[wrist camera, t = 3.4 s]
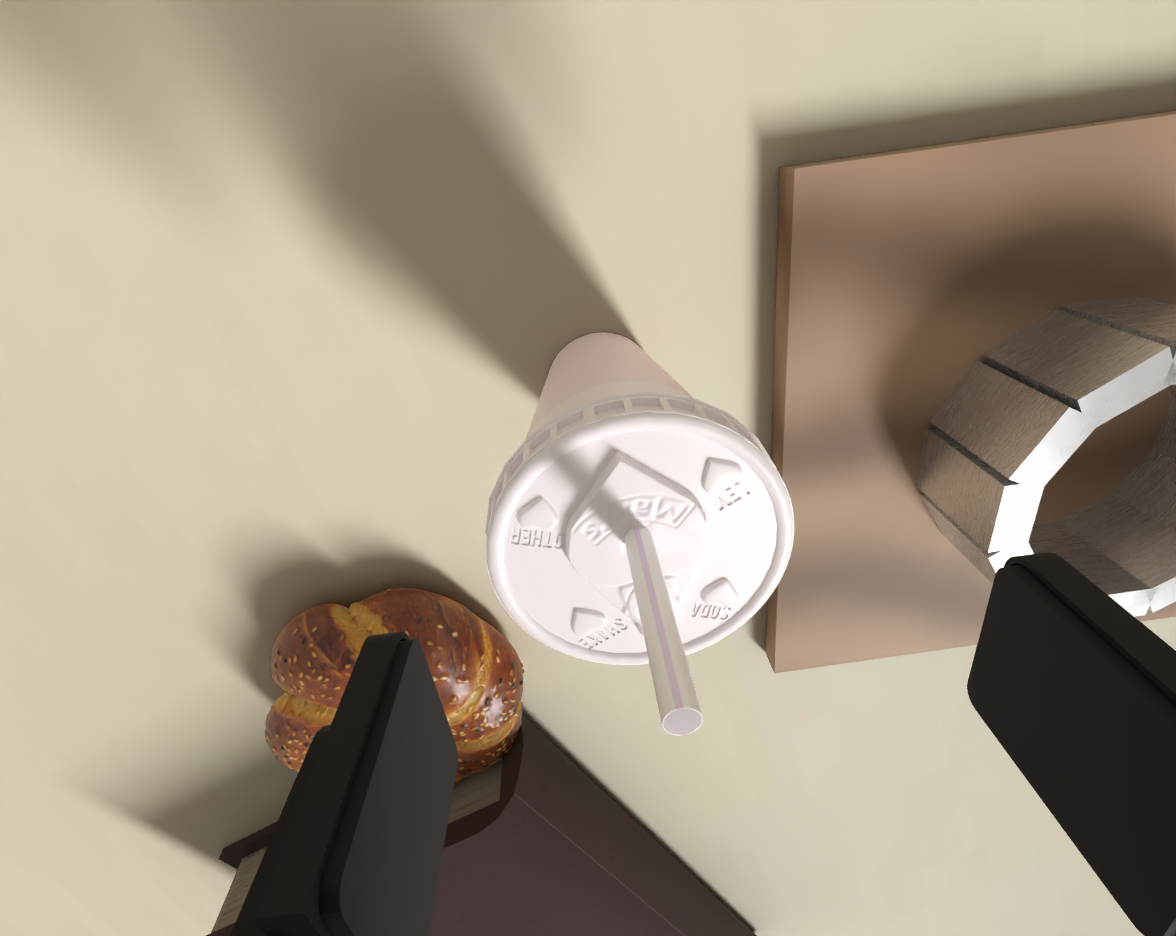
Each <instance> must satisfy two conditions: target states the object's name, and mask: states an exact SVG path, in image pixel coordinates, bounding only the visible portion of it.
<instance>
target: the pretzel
mask: <svg viewBox="0 0 1176 936" xmlns="http://www.w3.org/2000/svg"><path fill="white" fill-rule="evenodd" d="M394 632H405V633H406V634H407V635H408V637H409V639H410V640H411V639H418V640H419V642H420V644H421V646H422V649H423V652H424V655H425V658H426V661H427V663H428V666H429V669H430V672H431V675H432V678H433V680H434V683H435V686H436V689H437V692H438V695H439V697H440V700H441V703H442V706H443V709H444V712H445V714H446V717H447V720H448V723H449V726H450V729H451V731H452V734H453V737H454V740H455V743H456V747H457V756H458V761H457V771H456V777H455V783H454V787H455V786H456V785H457V784H458V783H461V782H462V781H463V779H464V778H465V777H466V776H470V775H472V774H477V773H479V772H481V771H484V770H486V769H487V768H489V767H491V766H492V765H494V764H495V763H496V762H499V761H500V760H502V756H503V755H504V754H505V753H506V752H507V751H508V750H509V749H510V748H511V747H512V744H513V742H514V740H515V739H516V737H517V734H518V731H519V728H520V727H521V725H522V722H521V718H522V712H523V709H522V708H523V704H522V702H521V697H522V692H523V673H524V670H523V669H522V667H523V665H522V663H521V661H520V659H519V657H518V655H517V653H516V651H515V649H514V648H513V647H512V645H511V644H510V643H509V641H508V640H507V639H506V638H505V637H504V636H503V635H502V634H501V633H500V632H499V631H498V630H496V629H495V628H494V627H493V626H491V625H490V624H489V623H487V622H486V621H484V620H482V619H481V618H479V617H478V616H476V615H475V614H474V613H473V612H472V611H471V610H469V609H468V608H467V607H466V606H464V605H462V604H461V603H459V602H456V601H454V600H452V599H450V598H448V597H445V596H443V595H440V594H437V593H433V592H430V591H425V590H421V589H415V588H397V589H388V590H385V591H382V592H379V593H377V594H374V595H372V596H370V597H367V598H365V599H363V600H361V601H359V602H354V603H352V604H351V606H350V607H349V608H347V607H345V606H342V605H339V604H333V603H329V604H322V605H317V606H314V607H312V608H310V609H308V610H305V611H303V612H302V613H299V614H298V615H297V616H295V617H294V618H293V619H292V620H291V621H289V622H288V623H287V624H286V625H285V627H284V628H283V629H282V630H281V631H280V633H279V634H278V636H277V638H276V640H275V642H274V644H273V647H272V651H271V674H272V678H273V681H274V682H275V683H276V684H277V685H278V686H280V687H281V688H282V689H283V690H284V691H285V693H284V694H283V695H282V696H280V697H279V698H278V699H277V700H276V702H275V703H274V704H273V705H272V706H271V711H270V712H269V713H268V715H267V718H266V719H267V720H266V730H265V737H266V741H267V744H268V745H269V747H270V749H271V750H272V752H273V753H274V754H275V755H276V758H277V759H278V760H280V761H282V762H283V764H284V765H285V766H286V767H288V768H290V769H294V770H296V771H297V772H298V773H299V770H300V768H301V766H302V763H303V761H304V758H305V756H306V754H307V751H308V749H309V746H310V744H311V742H312V740H313V738H314V736H315V735H316V733H317V732H318V731H319V730H320V729H321V728H322V727H323V726H326V725H331V723H332V721H333V718H334V716H335V713H336V711H337V708H338V706H339V703H340V701H341V698H342V696H343V693H344V691H345V688H346V686H347V683H348V681H349V678H350V676H351V673H352V671H353V668H354V666H355V663H356V661H357V658H358V656H359V653H360V651H361V648H362V645H363V643H364V641H365V639H366V638H367V637H368V636H369V635H377V634H386V633H394Z"/></svg>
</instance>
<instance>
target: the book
mask: <svg viewBox="0 0 1176 936" xmlns="http://www.w3.org/2000/svg"><path fill="white" fill-rule="evenodd" d="M521 722H522V725H521V727H520V728H519V731H518V734H517V737H516V739H515V740H514V742H513V744H512V747H511V748H510V749H509V750H508V751H507V752H506V753H505V754H504V755H503V756H502V760H500V761H499V762H496V763H495V764H494V765H492V766H491V767H489V768H487V769H486V770H484V771H481V772H479V773H477V774H472V775H470V776H466V777H465V778H464V779H463V781H462V782H461V783H458V784H457V785H456V786H455V787H454V789H453V795H452V801H451V806H450V812H449V818H448V824H447V830H446V836H445V842H444V848H443V854H442V860H441V866H440V872H439V878H438V884H437V889H436V895H435V901H434V907H433V913H432V919H431V925H430V931H429V936H757V935H755V934H754V933H753V932H752V931H751V930H750V929H749V928H748V927H747V926H746V925H745V924H744V923H743V922H742V921H741V920H740V919H738V918H737V917H736V916H735V915H734V914H733V913H732V912H731V911H730V910H729V909H728V908H727V907H726V906H725V905H724V904H723V903H722V902H720V901H719V900H718V899H717V898H716V897H715V896H714V895H713V894H712V893H711V892H710V891H709V890H708V889H707V888H706V887H705V886H704V885H702V884H701V883H700V882H699V881H698V880H697V879H696V878H695V877H694V876H693V875H692V874H691V873H690V872H689V871H688V870H687V869H686V868H684V867H683V866H682V865H681V864H680V863H679V862H678V861H677V860H676V859H675V858H674V857H673V856H672V855H671V854H670V853H669V852H667V851H666V850H665V849H664V848H663V847H662V846H661V845H660V844H659V843H658V842H657V841H656V840H655V839H654V838H653V837H652V836H651V835H649V834H648V833H647V832H646V831H645V830H644V829H643V828H642V827H641V826H640V825H639V824H638V823H637V822H636V821H635V820H634V819H633V818H631V817H630V816H629V815H628V814H627V813H626V812H625V811H624V810H623V809H622V808H621V807H620V806H619V805H618V804H617V803H616V802H615V801H613V800H612V799H611V798H610V797H609V796H608V795H607V794H606V793H605V792H604V791H603V790H602V789H601V788H600V787H599V786H598V785H597V784H595V783H594V782H593V781H592V780H591V779H590V778H589V777H588V776H587V775H586V774H585V773H584V772H583V771H582V770H581V769H580V768H578V767H577V766H576V765H575V764H574V763H573V762H572V761H571V760H570V759H569V758H568V757H567V756H566V755H565V754H564V753H563V752H562V751H560V750H559V749H558V748H557V747H556V746H555V745H554V744H553V743H552V742H551V741H550V740H549V739H548V738H547V737H546V736H545V735H544V734H542V733H541V732H540V731H539V730H538V729H537V728H536V727H535V726H534V725H533V724H532V723H531V722H530V721H529V720H528V719H527V718H526V717H524V716H523V715H522V718H521ZM277 823H278V821H277V822H275V823H273V824H271V825H269V826H267V827H265V828H263V829H261V830H259V831H258V832H256V833H254V834H252V835H250V836H248V837H246V838H244V839H242V840H240V841H238V842H236V843H234V844H232V845H230V846H228V847H226V848H224V849H223V851H222V853H221V855H220V857H219V859H220V860H222V861H224V862H225V863H227V864H229V865H231V866H233V867H235V868H236V869H238V870H237V873H236V875H235V877H234V880H233V882H232V885H231V887H230V889H229V892H228V894H227V896H226V899H225V901H224V904H223V906H222V908H221V911H220V913H219V916H218V918H217V920H216V923H215V925H214V927H213V930H212V932H211V934H209V935H207V936H230V934H231V932H232V930H233V927H234V925H235V923H236V920H237V918H238V915H239V913H240V911H241V908H242V906H243V903H244V901H245V899H246V896H247V894H248V892H249V889H250V887H251V884H252V882H253V880H254V877H255V875H256V873H257V870H258V868H259V865H260V863H261V861H262V858H263V856H264V854H265V851H266V849H267V846H268V844H269V842H270V839H271V837H272V835H273V832H274V830H275V827H276V825H277Z"/></svg>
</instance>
